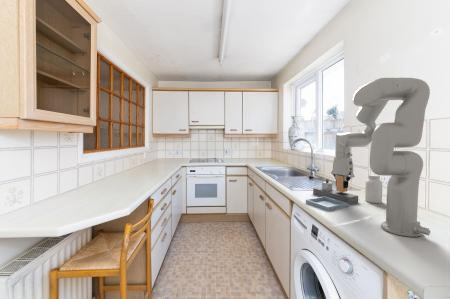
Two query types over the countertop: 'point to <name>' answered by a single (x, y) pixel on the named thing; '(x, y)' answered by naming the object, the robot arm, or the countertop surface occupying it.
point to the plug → (340, 184)
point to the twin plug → (327, 185)
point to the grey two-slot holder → (336, 195)
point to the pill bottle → (373, 189)
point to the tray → (326, 203)
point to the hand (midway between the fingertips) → (341, 186)
